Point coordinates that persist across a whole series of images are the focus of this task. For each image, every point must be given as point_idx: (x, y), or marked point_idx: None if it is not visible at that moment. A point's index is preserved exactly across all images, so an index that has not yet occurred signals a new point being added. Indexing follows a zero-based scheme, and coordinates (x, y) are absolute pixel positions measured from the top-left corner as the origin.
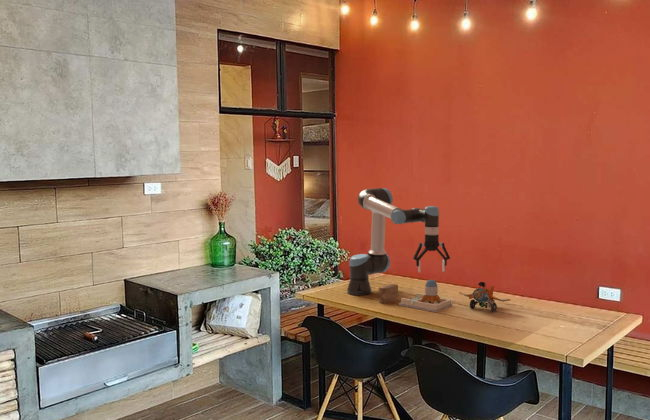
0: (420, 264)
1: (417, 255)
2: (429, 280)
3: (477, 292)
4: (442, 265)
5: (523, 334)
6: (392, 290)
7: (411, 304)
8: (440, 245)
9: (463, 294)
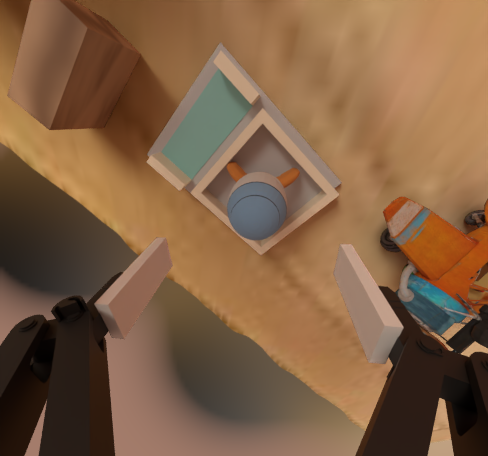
0: (142, 310)
1: (42, 401)
2: (242, 227)
3: None
4: (355, 279)
5: (378, 390)
6: (85, 83)
7: (191, 179)
8: None
9: (390, 232)
